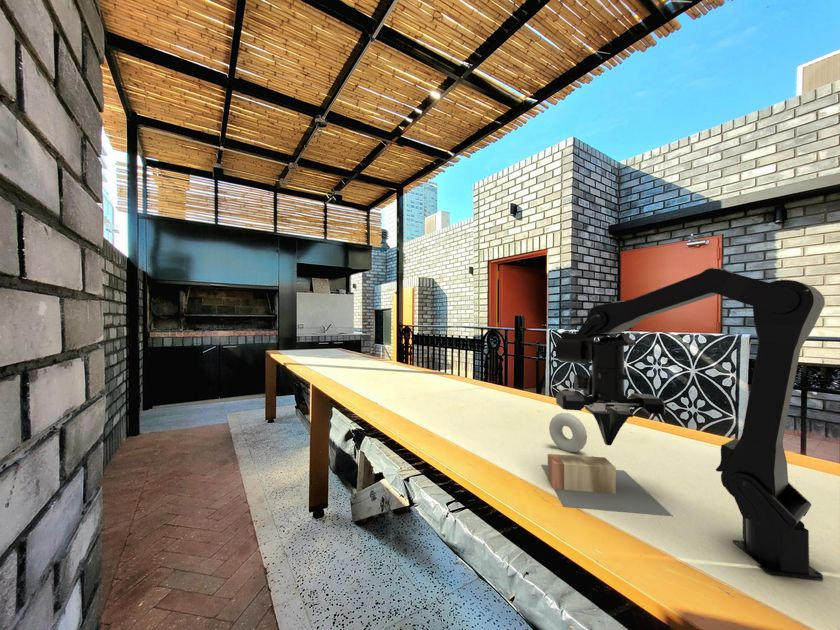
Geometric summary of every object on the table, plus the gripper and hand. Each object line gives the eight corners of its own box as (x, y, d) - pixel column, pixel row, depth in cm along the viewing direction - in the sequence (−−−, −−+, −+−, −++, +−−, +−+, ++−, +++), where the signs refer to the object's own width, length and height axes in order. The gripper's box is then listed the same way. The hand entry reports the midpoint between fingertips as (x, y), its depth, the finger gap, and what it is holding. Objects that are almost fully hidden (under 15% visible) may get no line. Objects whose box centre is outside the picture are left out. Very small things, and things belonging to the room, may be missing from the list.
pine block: (615, 467, 65) (553, 463, 66) (615, 493, 64) (553, 488, 66) (605, 457, 70) (547, 453, 71) (605, 481, 69) (547, 477, 71)
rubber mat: (673, 519, 57) (673, 516, 57) (563, 509, 60) (563, 506, 60) (624, 472, 75) (624, 470, 75) (540, 466, 77) (540, 464, 77)
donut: (546, 447, 90) (546, 409, 90) (553, 444, 92) (553, 408, 92) (582, 459, 82) (582, 418, 82) (589, 456, 84) (589, 416, 84)
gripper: (637, 363, 74) (637, 434, 74) (549, 361, 77) (549, 429, 76) (666, 370, 63) (667, 453, 63) (563, 367, 66) (563, 447, 65)
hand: (607, 444), depth 67 cm, fingers closed
